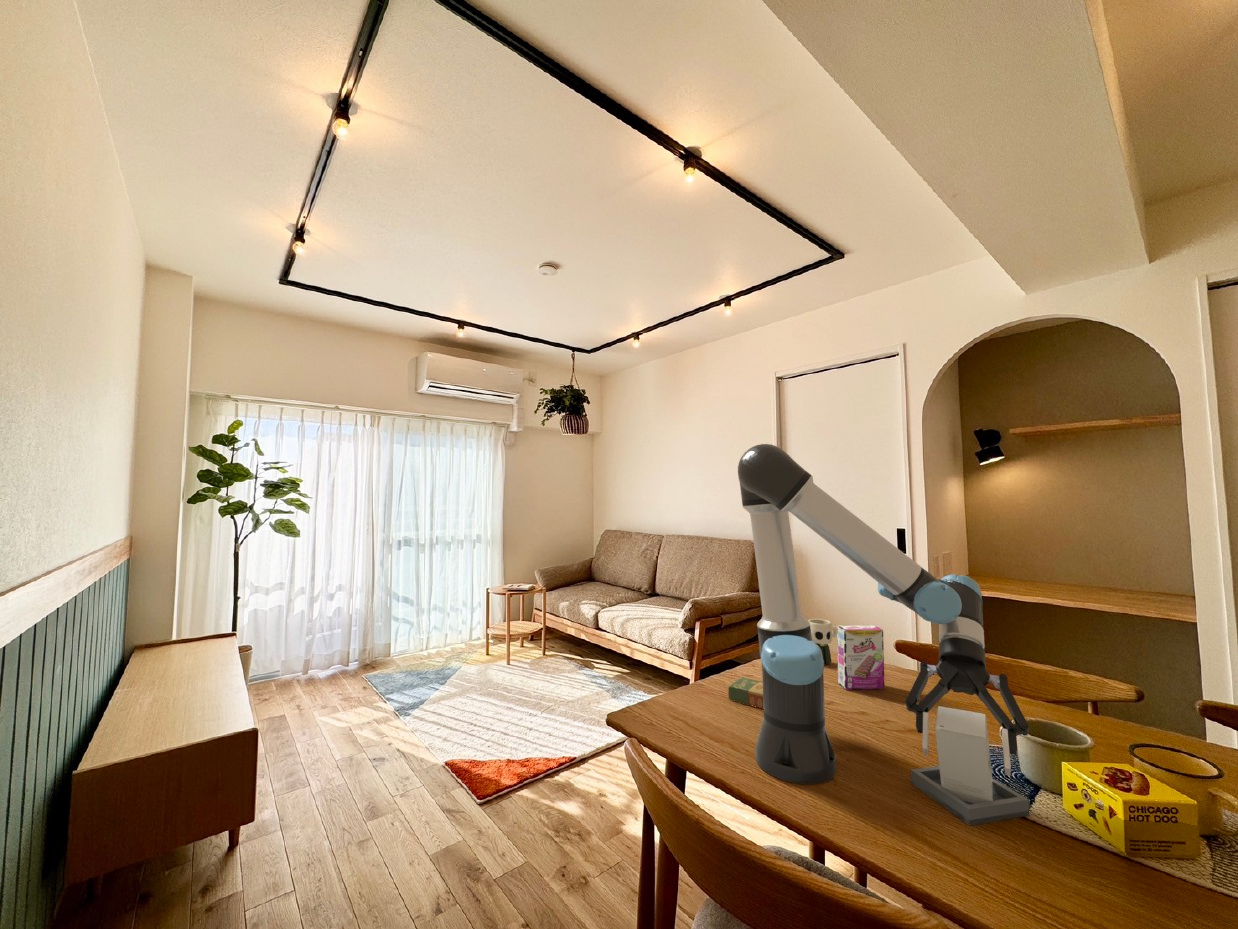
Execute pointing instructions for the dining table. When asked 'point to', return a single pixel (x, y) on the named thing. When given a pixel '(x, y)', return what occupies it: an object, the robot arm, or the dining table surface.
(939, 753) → the supplement box
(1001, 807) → the holder tray
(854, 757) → the dining table surface
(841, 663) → the candy bar box
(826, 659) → the character mug
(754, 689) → the carton
